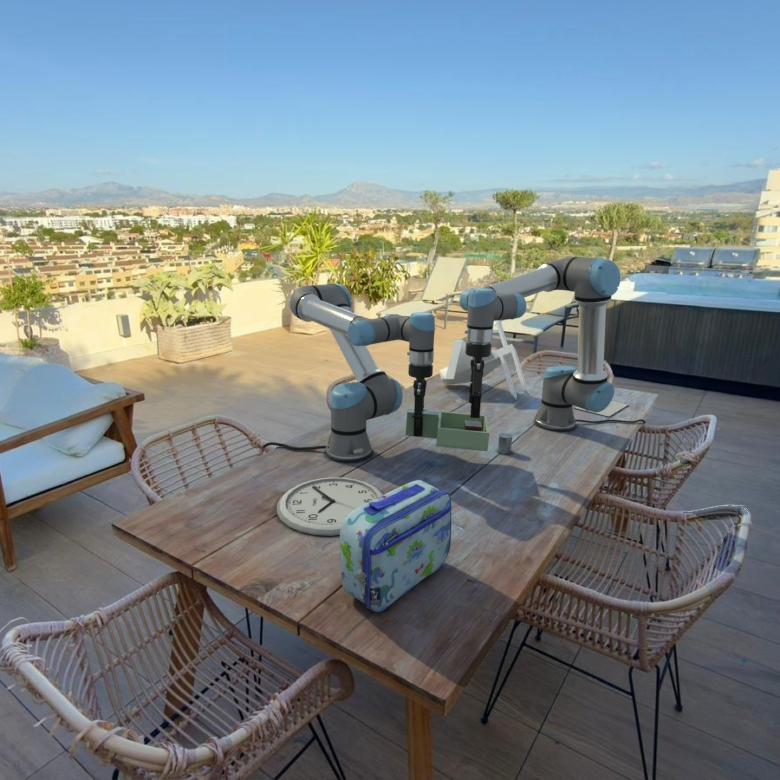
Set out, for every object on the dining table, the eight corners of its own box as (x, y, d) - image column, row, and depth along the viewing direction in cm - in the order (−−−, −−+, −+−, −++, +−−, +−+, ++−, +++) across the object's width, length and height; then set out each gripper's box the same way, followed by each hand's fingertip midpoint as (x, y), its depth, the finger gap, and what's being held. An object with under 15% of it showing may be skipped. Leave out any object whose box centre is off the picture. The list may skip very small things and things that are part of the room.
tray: (484, 432, 173) (487, 409, 171) (487, 451, 159) (490, 426, 156) (408, 425, 176) (409, 402, 174) (403, 443, 161) (405, 419, 159)
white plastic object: (461, 429, 252) (437, 405, 227) (444, 352, 274) (420, 323, 250) (535, 404, 240) (518, 377, 215) (510, 326, 262) (492, 293, 237)
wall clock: (392, 527, 129) (268, 531, 127) (391, 533, 130) (269, 537, 127) (383, 473, 158) (282, 475, 155) (383, 478, 158) (282, 480, 156)
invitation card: (608, 416, 214) (573, 407, 224) (608, 416, 214) (573, 408, 224) (628, 404, 229) (594, 396, 238) (628, 405, 229) (594, 397, 238)
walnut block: (478, 439, 166) (480, 421, 164) (480, 445, 161) (482, 427, 159) (462, 437, 166) (464, 420, 164) (463, 444, 161) (465, 425, 159)
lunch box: (369, 626, 100) (370, 530, 93) (334, 598, 107) (332, 507, 101) (455, 567, 117) (460, 483, 111) (419, 547, 124) (423, 467, 118)
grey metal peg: (510, 449, 181) (511, 433, 179) (511, 454, 177) (512, 438, 175) (497, 448, 181) (498, 432, 180) (498, 453, 177) (499, 437, 175)
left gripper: (410, 356, 169) (408, 424, 176) (406, 369, 154) (404, 443, 161) (434, 357, 168) (431, 425, 175) (431, 370, 153) (428, 444, 160)
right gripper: (465, 333, 166) (461, 396, 173) (466, 350, 143) (462, 423, 149) (489, 334, 165) (484, 398, 172) (494, 352, 142) (489, 425, 148)
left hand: (418, 433), depth 168 cm, fingers closed on tray, 3 cm apart
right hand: (474, 410), depth 160 cm, fingers open, 13 cm apart
